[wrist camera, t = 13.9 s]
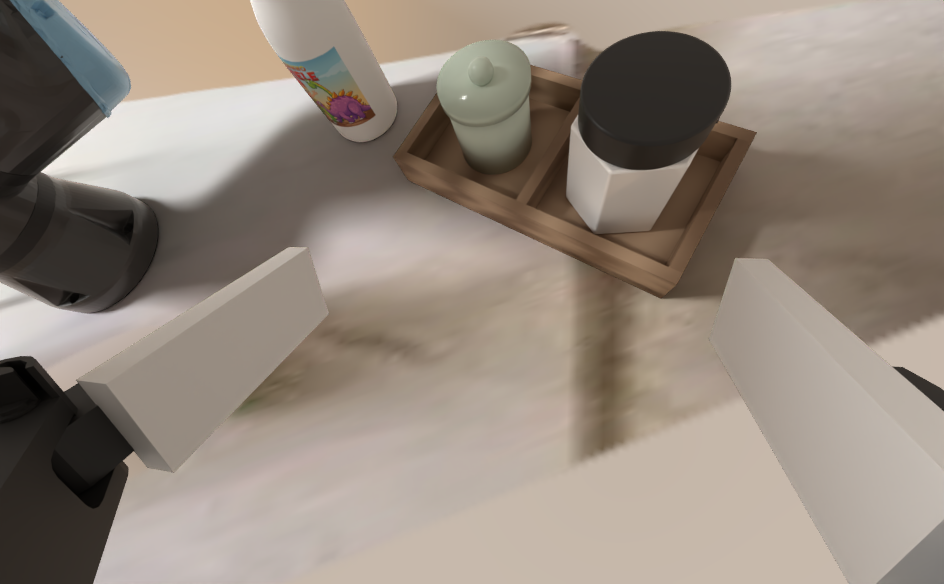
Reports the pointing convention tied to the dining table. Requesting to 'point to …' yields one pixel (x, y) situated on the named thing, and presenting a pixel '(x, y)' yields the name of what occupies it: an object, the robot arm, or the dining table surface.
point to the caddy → (545, 179)
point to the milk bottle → (330, 63)
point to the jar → (641, 127)
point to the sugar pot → (489, 104)
